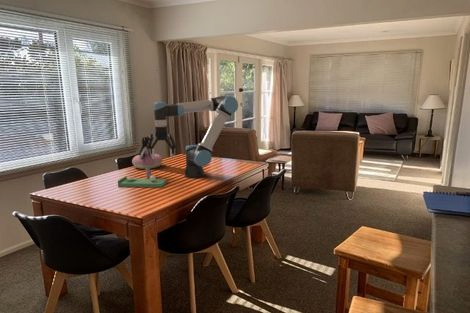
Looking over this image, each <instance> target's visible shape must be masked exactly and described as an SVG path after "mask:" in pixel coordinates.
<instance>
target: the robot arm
mask: <svg viewBox="0 0 470 313" xmlns="http://www.w3.org/2000/svg"><path fill="white" fill-rule="evenodd" d="M237 110H239V101H238V100H237V98H235V97H234V96H232V95H219V96H216V97H211V98H208V99H205V100H195V101H188V102H187V101H186V102H179V103H178V102H177V103H171V104H170V103H166V102H163V101H162V102H161V101H159V102H158V101H157V102H154V104H153V112H154V114H153V115H154V126H155V128H154V130H155V133H151V134H150V142H149V145H148V148H150V149H151V154H152V156H153V159H154V158H155V154H156V150H155V146H156V145H157V143H158V142H159V141H165V143H167V145H168V146H169V147H170V150H169V151H170V152H169V153H170V159H171V160H173V159H174V154H175V149H176V148H177V144H176V142H175V140H174V137H173V134H172V133H168V127H167V124H168V122H167V120H168V119H167V118H169V117H183V116H184V115H185V114H190V113H191V114H192V113H196V112H197V113H198V112H205V111H210V112H215V115H214V117H213V119H212V121H211V123H210V124H209V127H208V129H207V131H206V133H205V134H204V137H203V138H202V141H201V142H200V143H198V144H190V145H186V146H185V163H186V164H185V170H184V172H183V174H184V175H183V176H184V177H185V178H189V179H190V178H191V179H197V178H202V177H205V175H206V174H205V170H204V168H203V167H205V166H208V165H209V164H211V162H212V158H213V157H212V154H213V151H214V150H213V147H214V145H215V143H216V141H217V140H218V138H219V136H220V134H221V131H222V130H223V128H224V126H225V124H226V123H227V120H228V119H230V118H231V117H232V115H233V114H234V113H236V112H237ZM154 138H155V140H154ZM153 140H154V141H153Z"/></svg>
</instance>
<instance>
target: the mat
mask: <svg viewBox="0 0 470 313" xmlns="http://www.w3.org/2000/svg"><path fill="white" fill-rule="evenodd" d="M166 184H168V179H166V178H156V180H155V181H151V180H150V178H128V177H127V176H126V175H125V176H123V177H122V178H120V179H119V180H117V187H118V188H120V187H121V188H124V187H125V188H163V187H164V186H165V185H166Z"/></svg>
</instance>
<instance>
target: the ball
mask: <svg viewBox="0 0 470 313" xmlns="http://www.w3.org/2000/svg"><path fill="white" fill-rule="evenodd" d="M149 179H150V180H151V181H155V180H156V179H157V178H156V175H154V174H152V176H150V177H149Z"/></svg>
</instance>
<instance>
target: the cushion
mask: <svg viewBox="0 0 470 313" xmlns="http://www.w3.org/2000/svg"><path fill="white" fill-rule="evenodd" d="M152 158H153V156H152ZM138 159H139V160H138ZM153 160H154V163H155V164H154V165H153V166H150V170H151V169H155V168H158V167H160V166H161V165H162V163H163V161H164V160H163V157H162V156H161V155H160V154H158V153H155V158H154V159H153ZM142 162H143V160H142V159H140V155H139V154H137V155H135V156H134V157H133V158H132V160H131V163H132V165H133V166H134V167H135V168H136V169H141V170H146V166H142V165H141V164H142Z"/></svg>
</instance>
